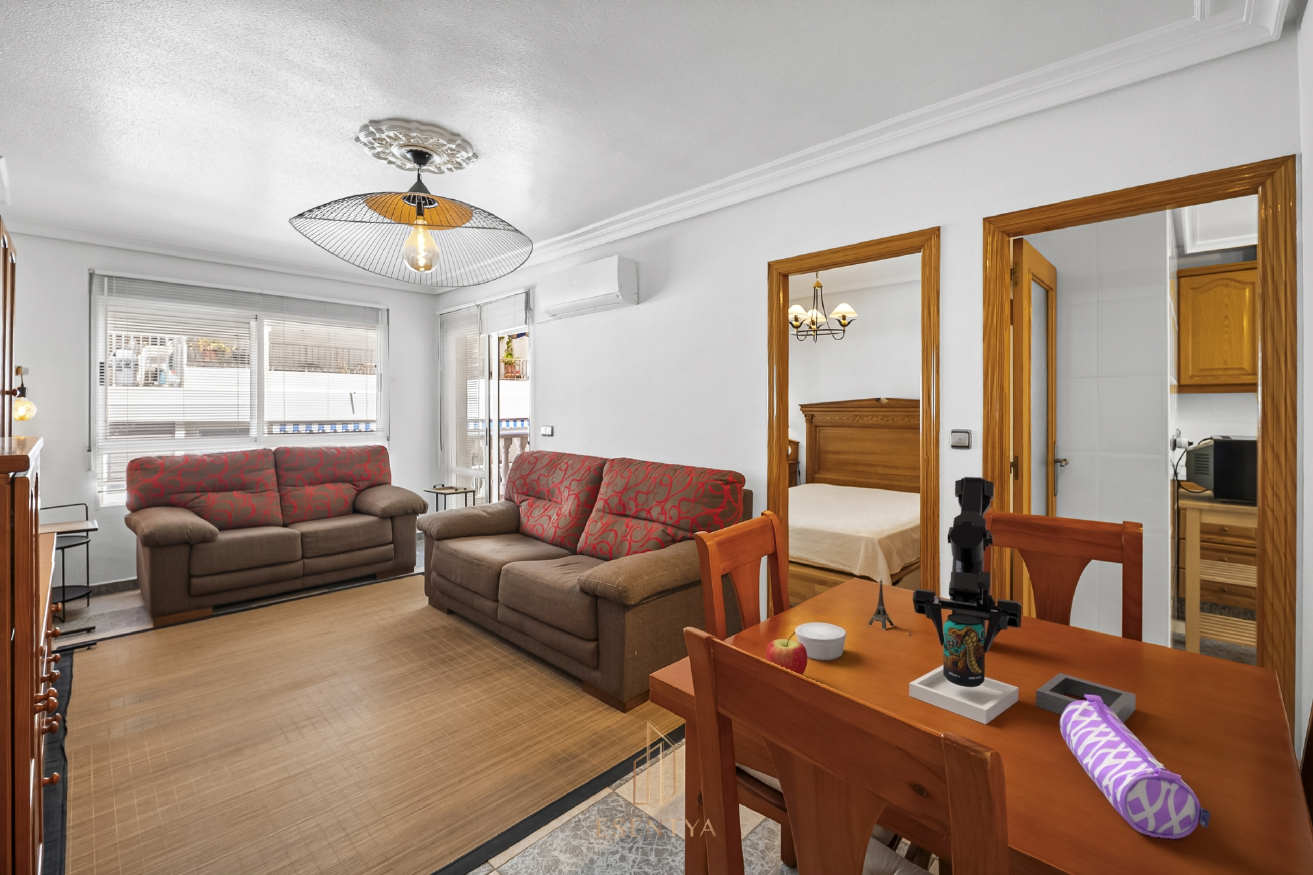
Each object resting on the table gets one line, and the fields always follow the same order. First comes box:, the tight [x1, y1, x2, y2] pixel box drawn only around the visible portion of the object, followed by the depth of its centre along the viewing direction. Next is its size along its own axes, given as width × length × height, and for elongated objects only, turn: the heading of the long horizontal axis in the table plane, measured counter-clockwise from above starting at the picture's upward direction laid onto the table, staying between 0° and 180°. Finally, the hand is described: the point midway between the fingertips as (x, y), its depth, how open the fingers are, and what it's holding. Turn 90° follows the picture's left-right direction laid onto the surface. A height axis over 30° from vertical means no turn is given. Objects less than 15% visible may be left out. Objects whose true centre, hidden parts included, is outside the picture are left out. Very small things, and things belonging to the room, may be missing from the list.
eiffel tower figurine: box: [867, 579, 913, 637], centre depth 155 cm, size 15×10×13 cm
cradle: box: [908, 664, 1019, 725], centre depth 115 cm, size 14×14×2 cm
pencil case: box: [1059, 695, 1211, 840], centre depth 86 cm, size 22×9×10 cm, turn 168°
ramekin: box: [794, 621, 847, 661], centre depth 138 cm, size 11×11×5 cm
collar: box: [1035, 672, 1136, 724], centre depth 111 cm, size 12×12×3 cm
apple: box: [765, 631, 808, 676], centre depth 124 cm, size 8×8×10 cm
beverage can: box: [942, 613, 986, 687], centre depth 115 cm, size 7×7×12 cm
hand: (963, 648), depth 114 cm, fingers closed on beverage can, 7 cm apart
